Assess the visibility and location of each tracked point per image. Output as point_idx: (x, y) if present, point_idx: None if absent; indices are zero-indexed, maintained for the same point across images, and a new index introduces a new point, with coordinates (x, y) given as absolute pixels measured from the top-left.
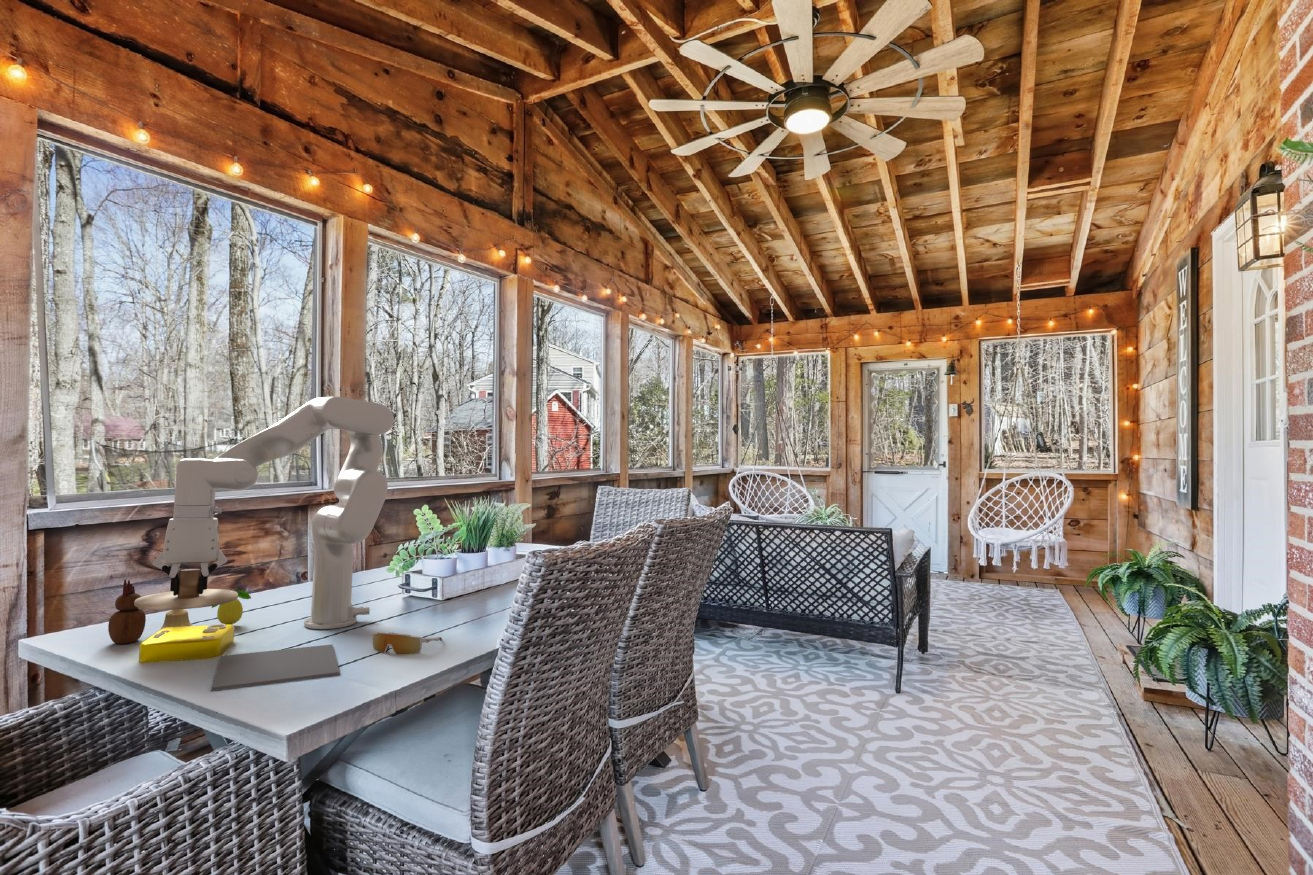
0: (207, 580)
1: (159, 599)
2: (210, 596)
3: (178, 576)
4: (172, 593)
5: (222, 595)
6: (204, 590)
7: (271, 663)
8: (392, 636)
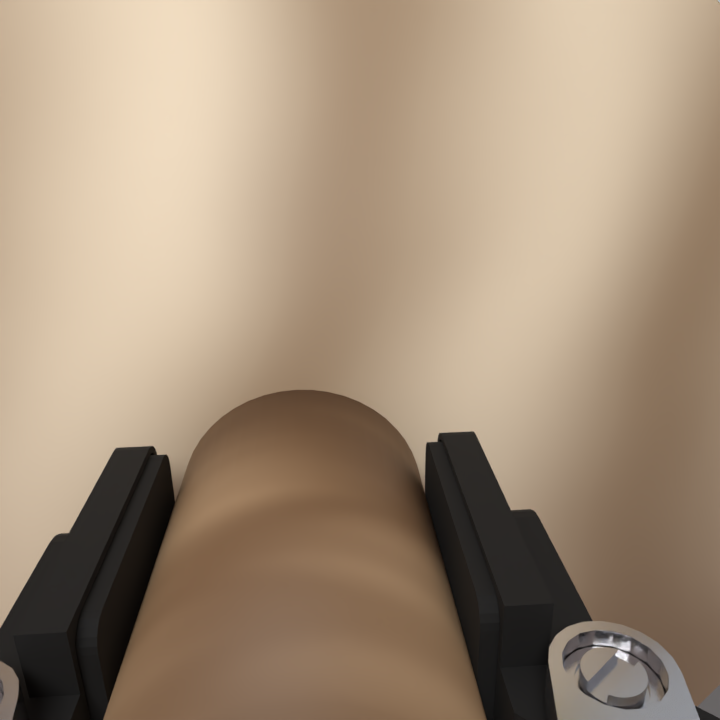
0: (569, 586)
1: (8, 565)
2: (544, 527)
3: (86, 708)
4: (24, 164)
5: (671, 506)
6: (458, 24)
7: (716, 703)
8: None
